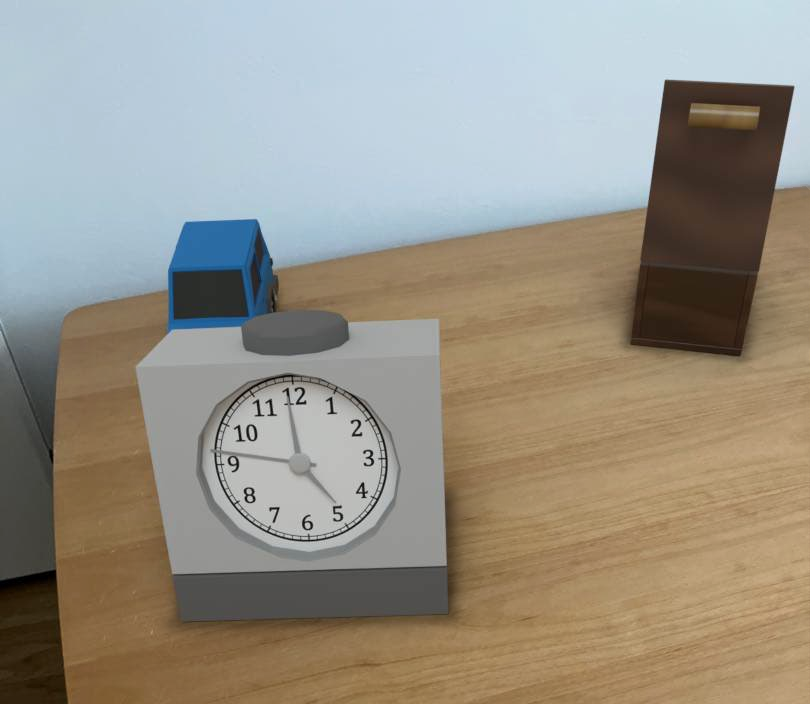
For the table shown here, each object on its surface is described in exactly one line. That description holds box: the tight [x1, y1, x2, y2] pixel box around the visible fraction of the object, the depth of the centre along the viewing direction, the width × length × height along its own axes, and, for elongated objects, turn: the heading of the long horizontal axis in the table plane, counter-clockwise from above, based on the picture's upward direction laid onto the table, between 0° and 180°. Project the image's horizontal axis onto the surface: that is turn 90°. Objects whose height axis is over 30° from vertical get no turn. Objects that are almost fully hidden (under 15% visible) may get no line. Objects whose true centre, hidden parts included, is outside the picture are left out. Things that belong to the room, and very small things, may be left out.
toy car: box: [166, 218, 280, 335], centre depth 100 cm, size 9×19×10 cm, turn 179°
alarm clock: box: [135, 309, 449, 623], centre depth 75 cm, size 20×16×20 cm
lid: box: [639, 79, 795, 273], centre depth 87 cm, size 15×11×5 cm
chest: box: [630, 261, 759, 357], centre depth 101 cm, size 15×11×9 cm
